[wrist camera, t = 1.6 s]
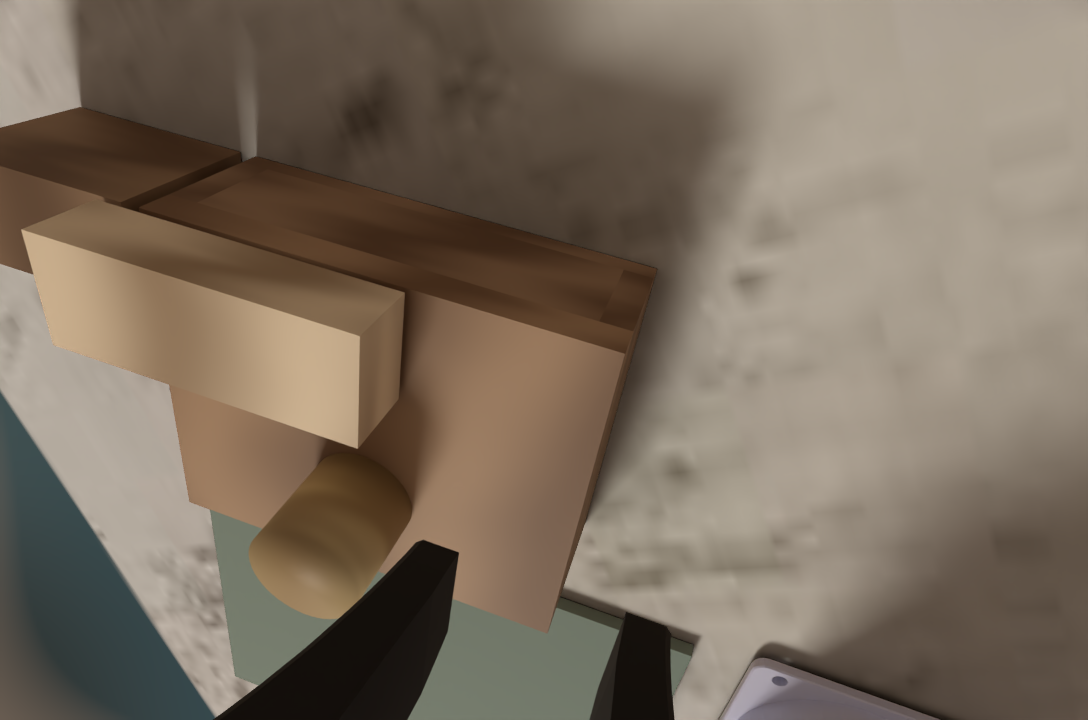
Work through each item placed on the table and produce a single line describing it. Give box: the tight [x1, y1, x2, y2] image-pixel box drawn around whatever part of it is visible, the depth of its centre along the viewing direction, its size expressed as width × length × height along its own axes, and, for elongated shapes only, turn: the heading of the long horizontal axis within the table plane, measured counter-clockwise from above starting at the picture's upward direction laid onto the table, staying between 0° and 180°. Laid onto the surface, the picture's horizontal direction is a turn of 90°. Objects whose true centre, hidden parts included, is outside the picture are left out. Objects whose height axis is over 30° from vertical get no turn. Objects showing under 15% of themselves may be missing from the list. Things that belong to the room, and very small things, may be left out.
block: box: [21, 200, 405, 449], centre depth 16 cm, size 8×3×2 cm, turn 80°
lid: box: [139, 195, 633, 634], centre depth 18 cm, size 12×10×4 cm
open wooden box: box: [0, 107, 657, 601], centre depth 21 cm, size 18×10×4 cm, turn 80°
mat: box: [210, 510, 693, 720], centre depth 31 cm, size 20×14×1 cm
